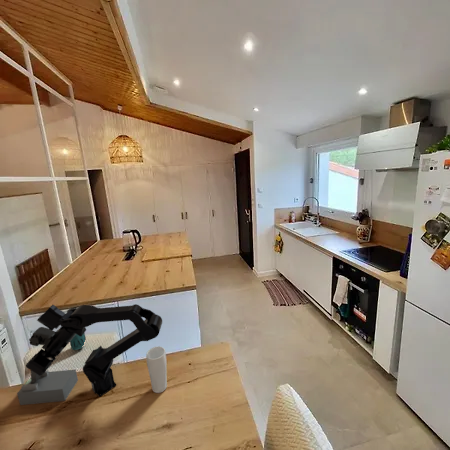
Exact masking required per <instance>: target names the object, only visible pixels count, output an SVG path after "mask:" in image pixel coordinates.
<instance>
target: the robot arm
mask: <svg viewBox="0 0 450 450" xmlns="http://www.w3.org/2000/svg"><path fill="white" fill-rule="evenodd" d="M74 308H75V309H71V308H69V309H70V310H69V309H68V310H69V311H68V310H67V311H68V312H67V311H66V312H64V311H63V310H61V309H60V308H58V307H57V306H56V305H54V304H52V305H50V307H48V308H47V309H46V311H45V312H43V313H42V314H41V315H40V316H39V317H38V318H37V319H36V321H37V323H40V324H41V325H43V326H40V327H38V328H37V329H36V330H35V331H34V332H33V333H32V335H31V336H30V338H29V339H28V342H29V345H31V346H35V347H38V346H41V349H40V350H39V351H37V353H35V354H34V355H33V356H32V357H31V358H30V359H29V360H28V361H27V363H26V364H25V368H27V369H30V370H29V371H30V372H31V371H33V372H35V373H36V374H38V375H43V374H44V373H45V371H47V370H48V369H49V368H50V366H51V365H52V364H53V362H55V360H56V359H57V358H56V357H58V356H60V354H61V353H62V351H64V349H65V348H66V347H67V346H68V345H69V344H70V341H71V340H72V339H73V338H74V336H75V335H76V334H77V335H79V336H82V335H83V334H84V332H85V333H86V331H87V329H86V328H87V327H90V326H92V325H94V324H96V323H97V324H98V323H106V322H109V323H110V322H118V321H130V322H131V323H133V326H135V328H136V329H134V330H133V331H131V332H129V334H126V335H125V336H124V337H122V338H119V340H117V341H116V342H114V343H113V344H111V345H110V346H107V347H106V348H103V346H102V345H99V346H98V347H97V348H96V349H93V350H92V351H91V353H90V354H89V356H88V357H87V359H86V360H85V362H84V365H83V366H82V372H83V374H84V375H85V377H86V378H87V380H88V381H89V383H91V387H92V392H93V393H94V394H96V396H98V397H99V398H101V397H102V396H103V395H105V394H106V393H108V392H109V391H110V390H112V389H113V388H115V387H116V386H117V383H116V382H115V379H114V374H113V369H112V368H111V367H112V365H113V363H114V360H115V359H116V358H117V357H118V356H121V355H122V354H124V353H126V352H127V351H128V350H130V349H131V348H132V347H134V346H136V345H138V344H139V343H141V342H149V341H150V340H153V339H155V338H157V337H158V336H159V335H160V331H161V328H162V324H163V318H162V317H161V316H160V315H158V314H156V313H155V312H154V311H152V310H150V309H148V308H147V309H146V308H143V307H142V306H140V305H139V304H132V305H122V306H109V307H96V306H94V305H90V304H82V305H80V306H78V307H74ZM143 318H144V319H143ZM59 327H60V328H59ZM54 329H56V330H55V331H54Z"/></svg>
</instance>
